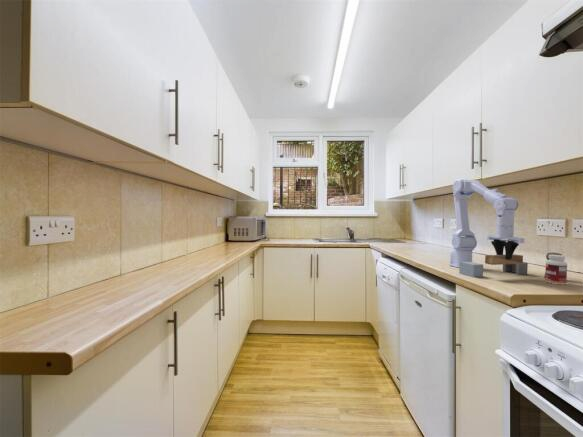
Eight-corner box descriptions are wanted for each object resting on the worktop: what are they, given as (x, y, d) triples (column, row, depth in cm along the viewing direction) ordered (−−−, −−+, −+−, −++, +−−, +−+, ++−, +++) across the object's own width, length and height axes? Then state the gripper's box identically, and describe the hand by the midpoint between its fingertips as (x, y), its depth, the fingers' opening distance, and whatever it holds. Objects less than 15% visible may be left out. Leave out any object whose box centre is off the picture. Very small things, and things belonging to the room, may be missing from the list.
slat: (485, 263, 119) (485, 255, 119) (515, 262, 122) (515, 254, 122) (492, 264, 116) (492, 256, 115) (522, 263, 119) (523, 255, 119)
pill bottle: (540, 281, 114) (541, 254, 114) (556, 281, 114) (557, 254, 114) (554, 285, 108) (555, 256, 108) (571, 285, 108) (572, 256, 108)
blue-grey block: (459, 273, 127) (459, 261, 127) (468, 272, 129) (468, 261, 128) (473, 277, 120) (473, 264, 120) (482, 276, 121) (483, 264, 121)
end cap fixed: (502, 271, 133) (502, 260, 133) (511, 271, 134) (511, 260, 134) (518, 274, 126) (518, 263, 126) (527, 274, 127) (527, 262, 127)
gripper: (482, 225, 125) (481, 255, 125) (514, 227, 111) (513, 261, 111) (495, 225, 126) (494, 255, 127) (528, 227, 112) (527, 261, 112)
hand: (504, 258), depth 119 cm, fingers closed on slat, 3 cm apart
